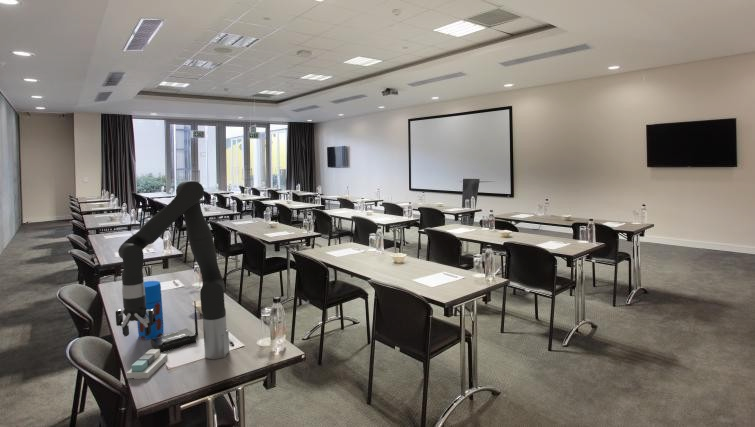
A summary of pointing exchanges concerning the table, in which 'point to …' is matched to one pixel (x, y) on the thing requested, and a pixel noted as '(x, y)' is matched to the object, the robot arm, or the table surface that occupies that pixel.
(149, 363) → the key
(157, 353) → the key
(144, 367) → the key
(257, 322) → the table surface
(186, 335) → the black wifi router
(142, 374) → the keypad
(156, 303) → the thermos
